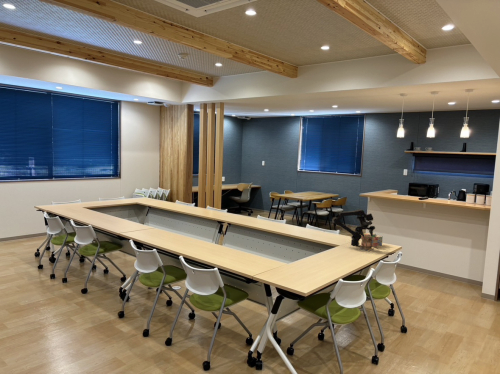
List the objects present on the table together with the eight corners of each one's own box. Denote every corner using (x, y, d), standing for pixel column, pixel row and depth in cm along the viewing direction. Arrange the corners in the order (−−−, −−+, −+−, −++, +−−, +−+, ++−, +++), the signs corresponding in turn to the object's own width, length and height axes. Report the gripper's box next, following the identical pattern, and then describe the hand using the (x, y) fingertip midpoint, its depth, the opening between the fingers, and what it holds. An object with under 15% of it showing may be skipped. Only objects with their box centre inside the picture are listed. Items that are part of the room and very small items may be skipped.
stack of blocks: (377, 243, 358) (378, 232, 356) (381, 245, 352) (383, 233, 351) (361, 245, 349) (362, 233, 348) (365, 246, 343) (366, 234, 342)
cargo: (363, 246, 332) (363, 242, 332) (366, 246, 334) (367, 242, 333) (366, 248, 329) (366, 243, 328) (369, 247, 330) (370, 243, 330)
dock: (359, 250, 330) (359, 248, 329) (364, 247, 339) (364, 246, 339) (368, 252, 324) (368, 250, 324) (373, 249, 333) (373, 248, 333)
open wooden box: (361, 247, 333) (362, 236, 332) (366, 247, 335) (367, 236, 334) (366, 249, 327) (366, 237, 326) (371, 249, 330) (372, 237, 329)
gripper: (358, 217, 328) (363, 232, 320) (375, 217, 334) (381, 232, 325) (352, 223, 337) (357, 238, 329) (369, 223, 342) (374, 237, 334)
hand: (368, 236), depth 329 cm, fingers open, 9 cm apart
